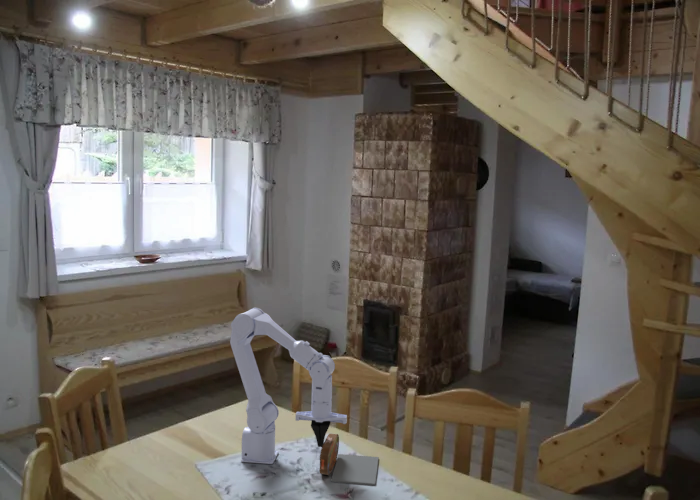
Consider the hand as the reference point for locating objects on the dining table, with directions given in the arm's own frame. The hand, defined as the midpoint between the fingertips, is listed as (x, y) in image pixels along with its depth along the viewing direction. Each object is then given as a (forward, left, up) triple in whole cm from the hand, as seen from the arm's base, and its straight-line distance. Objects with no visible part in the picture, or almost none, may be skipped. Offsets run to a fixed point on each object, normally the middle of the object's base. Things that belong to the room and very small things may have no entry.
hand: (320, 445), depth 171 cm
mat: (+10, 0, -6) cm, 12 cm away
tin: (+2, 0, -7) cm, 7 cm away
